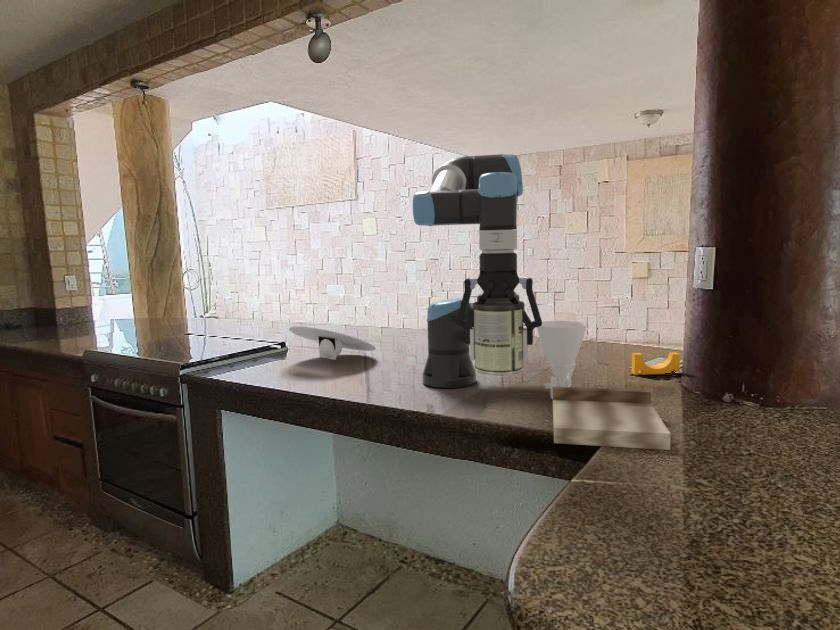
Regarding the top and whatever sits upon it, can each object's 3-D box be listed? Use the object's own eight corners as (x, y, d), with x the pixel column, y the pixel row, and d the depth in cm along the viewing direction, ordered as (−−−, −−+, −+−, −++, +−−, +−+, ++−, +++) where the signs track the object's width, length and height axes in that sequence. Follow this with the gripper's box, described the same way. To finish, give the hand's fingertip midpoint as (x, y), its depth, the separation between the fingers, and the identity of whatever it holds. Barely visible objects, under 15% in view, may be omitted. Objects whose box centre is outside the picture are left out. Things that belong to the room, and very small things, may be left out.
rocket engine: (527, 394, 131) (527, 323, 128) (566, 389, 134) (567, 319, 132) (554, 406, 120) (554, 329, 118) (595, 400, 124) (597, 325, 121)
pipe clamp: (672, 373, 148) (673, 351, 148) (679, 377, 144) (679, 354, 143) (629, 374, 149) (629, 351, 149) (634, 377, 145) (635, 354, 144)
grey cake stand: (268, 339, 179) (322, 323, 201) (292, 389, 177) (344, 368, 200) (319, 304, 164) (371, 291, 186) (345, 359, 162) (395, 339, 184)
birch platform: (553, 443, 98) (554, 414, 97) (552, 410, 117) (552, 386, 116) (670, 449, 93) (671, 420, 92) (648, 415, 112) (649, 390, 112)
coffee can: (473, 363, 115) (473, 299, 113) (521, 363, 114) (521, 299, 112) (474, 376, 104) (473, 305, 102) (526, 376, 103) (526, 305, 101)
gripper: (439, 253, 105) (441, 362, 108) (556, 251, 99) (555, 365, 102) (446, 252, 112) (448, 354, 115) (555, 250, 107) (554, 357, 110)
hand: (498, 359), depth 109 cm, fingers closed on coffee can, 10 cm apart
